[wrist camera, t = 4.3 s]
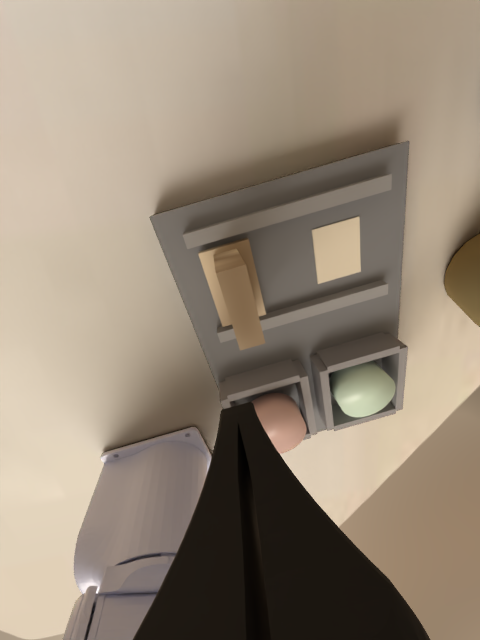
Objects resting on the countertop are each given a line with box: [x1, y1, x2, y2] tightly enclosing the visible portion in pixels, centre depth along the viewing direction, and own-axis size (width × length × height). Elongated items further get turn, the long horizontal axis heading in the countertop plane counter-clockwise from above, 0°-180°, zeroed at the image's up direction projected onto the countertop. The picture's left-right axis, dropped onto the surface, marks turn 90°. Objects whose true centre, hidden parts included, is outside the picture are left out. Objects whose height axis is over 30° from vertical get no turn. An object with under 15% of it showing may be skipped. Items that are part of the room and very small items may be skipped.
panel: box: [150, 141, 409, 440], centre depth 19 cm, size 15×22×4 cm
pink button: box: [252, 393, 307, 454], centre depth 19 cm, size 4×4×2 cm
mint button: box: [329, 360, 396, 417], centre depth 20 cm, size 4×4×2 cm
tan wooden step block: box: [198, 238, 266, 350], centre depth 14 cm, size 3×5×4 cm, turn 15°
